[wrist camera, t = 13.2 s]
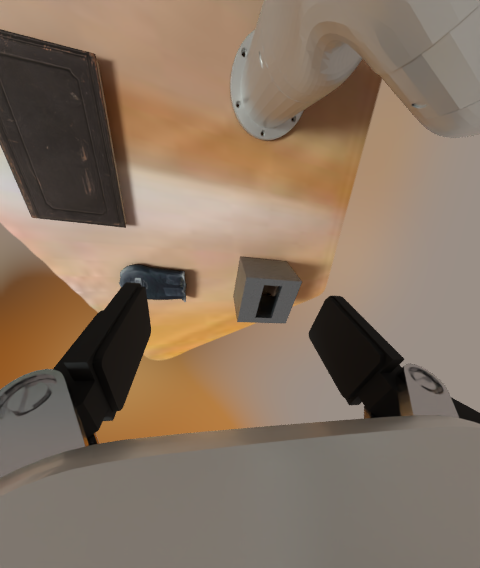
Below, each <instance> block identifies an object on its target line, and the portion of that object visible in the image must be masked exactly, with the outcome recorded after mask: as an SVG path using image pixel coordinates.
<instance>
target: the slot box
mask: <svg viewBox="0 0 480 568" xmlns="http://www.w3.org/2000/svg"><path fill="white" fill-rule="evenodd" d="M301 283H302V281H301V280H300V278H299V277H298V276H297V275H296V273H295V272H294V271H293V269H292V268H291V267H290V266H289V264H288V263H287V262H286V261H279V260H269V259H259V258H249V257H240V261H239V267H238V272H237V278H236V284H235V290H234V295H233V297H234V304H235V310H236V317H237V322H260V323H286V321H287V318H288V316H289V313H290V311H291V308H292V306H293V303H294V301H295V298H296V296H297V293H298V291H299V288H300V286H301ZM264 285H270V286H280V287H279V290H278V293H277V294H276V295H275V296H274V295H272V296H269V295H262V291H263V287H264Z"/></svg>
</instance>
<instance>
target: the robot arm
mask: <svg viewBox="0 0 480 568" xmlns="http://www.w3.org/2000/svg"><path fill="white" fill-rule="evenodd" d="M242 53H244V54H245V57H243V56H242ZM362 58H363V60H364V61H365V62H366V63H367V64H368V65H369V67H370V68H371V69H372V70H373V71H374V72H375V73H376V74H378V75H380V76H381V78H382V79H383V80H384V81H385V82H386V83H387V85H388V86H389V87H390V88H391V89H392V91H393V92H394V93H395V94H396V95H397V96H398V97H399V99H400V100H401V101H402V102H403V103H404V105H405V106H406V107H407V108H408V109H409V111H410V112H411V113H412V114H413V115H414V116H415V117H416V118H417V120H418V121H419V122H420V123H421V124H422V125H423V126H424V127H426V128H427V129H428V130H430V131H431V132H433V133H434V134H437V135H439V136H443V137H450V138H460V137H469V136H474V135H478V134H480V0H264V2H263V5H262V9H261V12H260V15H259V19H258V22H257V25H256V29H255V30H254V31H252V32H251V33H250V34H249V35H248V36H247V37H246V39H245V40H244V41H243V43H242V44H241V46H240V48H239V50H238V52H237V54H236V57H235V60H234V63H233V67H232V72H231V81H230V93H231V101H232V106H233V109H234V112H235V115H236V117H237V119H238V121H239V123H240V124H241V126H242V127H243V128H244V130H245V131H246V132H248V133H249V134H250V135H251V136H253V137H255V138H257V139H260V140H274V139H277V138H279V137H281V136H283V135H285V134H286V133H288V132H289V131H290V130H291V129H292V128H293V127H294V126H295V124H296V123H297V122H298V120H299V118H300V117H301V115H302V113H303V111H304V110H305V109H306V108H308V107H309V106H311V105H312V104H314V103H316V102H317V101H319V100H320V99H322V98H323V97H325V96H326V95H328V94H329V93H331V92H332V91H334V90H335V89H336V88H338V87H339V86H340V85H341V84H342V83H343V82H344V81H345V80H346V79H347V78H348V77H349V76H350V75H351V74H352V72H353V71H354V70H355V69H356V67H357V66H358V64H359V63H360V62H361V60H362ZM236 104H239V108H237V107H236ZM291 118H293V122H292V121H291ZM261 132H263V136H261ZM150 334H151V324H150V317H149V309H148V302H147V294H146V288H145V287H142V286H141V284H140V283H129V282H126V283H125V284H124V285H123V286H122V287H121V289H120V290H119V291H118V293H117V294H116V295H115V297H114V298H113V299H112V300H111V302H110V303H109V304H108V306H107V307H106V308H105V310H104V311H100V312H99V313H98V314H97V315H96V316H95V317H94V318H93V320H92V321H91V322H90V324H89V325H88V326H87V327H86V329H85V330H84V331H83V332H82V334H81V335H80V336H79V337H78V339H77V340H76V341H75V342H74V344H73V345H72V346H71V347H70V349H69V350H68V351H67V352H66V354H65V355H64V356H63V357H62V359H61V360H60V361H59V362H58V364H57V365H56V366H55V367H54V369H53V370H52V369H45V370H38V371H34V372H31V373H29V374H26V375H23V376H22V377H19V378H17V379H16V380H14V381H12V382H10V383H9V384H8V385H6V386H5V387H3V388H2V389H1V390H0V568H480V413H479V412H477V411H475V410H473V409H471V408H470V407H468V406H466V405H464V404H462V403H460V402H459V401H457V400H455V399H453V398H451V397H450V394H449V392H448V390H447V388H446V387H445V385H444V384H443V383H442V382H441V381H440V380H439V379H438V378H437V377H436V376H435V375H433V374H432V373H431V372H429V371H428V370H426V369H424V368H422V367H420V366H418V365H415V364H406V365H405V366H404V367H403V368H402V367H401V366H400V365H399V364H400V363H401V362H402V361H403V360H404V358H403V357H402V356H401V355H400V354H399V353H398V352H397V351H396V350H395V349H394V348H393V347H392V346H391V345H390V344H388V342H387V341H386V340H385V339H384V338H383V337H382V336H381V335H380V334H379V333H378V332H377V331H376V330H375V329H374V328H373V327H372V326H371V325H370V324H369V323H368V322H367V321H366V320H365V319H364V318H363V317H362V316H361V315H360V314H359V313H358V312H357V311H356V310H355V309H354V308H353V307H352V306H351V305H350V304H349V303H348V302H347V301H346V300H345V299H344V298H343V297H341V296H329V297H328V298H327V299H326V300H325V301H324V304H323V306H322V307H321V309H320V311H319V313H318V315H317V317H316V319H315V321H314V323H313V325H312V328H311V330H310V331H309V338H310V340H311V341H312V343H313V345H314V347H315V349H316V351H317V352H318V354H319V356H320V358H321V359H322V361H323V363H324V365H325V367H326V368H327V370H328V372H329V374H330V375H331V377H332V379H333V381H334V383H335V384H336V386H337V388H338V390H339V391H340V393H341V395H342V396H343V397H344V398H345V399H346V400H347V402H348V404H349V405H359V404H360V403H361V402H363V404H364V405H365V406H364V419H355V420H340V421H328V422H315V423H303V424H291V425H279V426H266V427H255V428H243V429H231V430H220V431H208V432H198V433H186V434H175V435H166V436H157V437H147V438H138V439H128V440H120V441H115V442H108V443H101V444H99V442H98V439H97V436H96V433H95V432H97V431H98V430H99V428H100V426H101V423H102V421H110V420H111V421H112V420H113V419H114V417H115V414H116V411H120V410H121V409H122V408H123V405H124V403H125V401H126V398H127V395H128V393H129V390H130V387H131V385H132V382H133V379H134V377H135V374H136V371H137V369H138V366H139V364H140V361H141V358H142V356H143V353H144V350H145V348H146V345H147V342H148V340H149V337H150Z"/></svg>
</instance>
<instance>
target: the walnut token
mask: <svg viewBox="0 0 480 568" xmlns="http://www.w3.org/2000/svg"><path fill="white" fill-rule="evenodd" d="M279 287H280V286H270V285H264V287H263V291H265V292H267V293H270V294H272V295H274V296H275V295H276V294H277V293H278V290H279Z"/></svg>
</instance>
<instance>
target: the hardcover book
mask: <svg viewBox="0 0 480 568" xmlns="http://www.w3.org/2000/svg"><path fill="white" fill-rule="evenodd" d="M0 145H1V148H2V150H3V152H4V154H5V157H6V159H7V161H8V164H9V166H10V168H11V171H12V173H13V175H14V178H15V180H16V182H17V184H18V187H19V189H20V191H21V194H22V196H23V198H24V201H25V203H26V205H27V208H28V210H29V212H30V214H31V217H33V218H40V219H50V220H59V221H69V222H78V223H87V224H97V225H106V226H115V227H126V225H125V224H126V219H125V213H124V207H123V202H122V196H121V190H120V184H119V179H118V173H117V167H116V161H115V156H114V150H113V144H112V139H111V133H110V127H109V121H108V116H107V110H106V104H105V99H104V93H103V87H102V81H101V76H100V70H99V64H98V61H97V60H96V56H95V54H93V53H89V52H86V51H82V50H78V49H74V48H70V47H66V46H62V45H58V44H55V43H51V42H47V41H43V40H39V39H35V38H31V37H27V36H24V35H20V34H16V33H12V32H8V31H4V30H0Z"/></svg>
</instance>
